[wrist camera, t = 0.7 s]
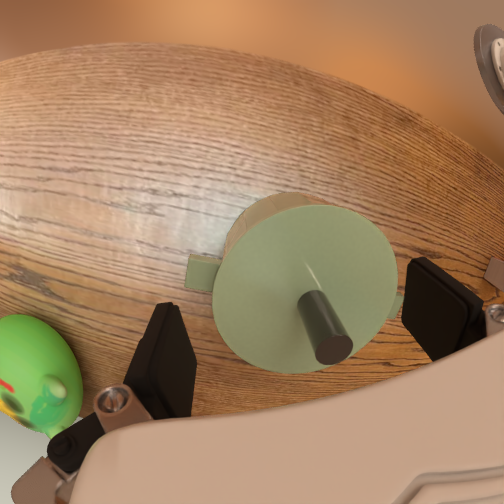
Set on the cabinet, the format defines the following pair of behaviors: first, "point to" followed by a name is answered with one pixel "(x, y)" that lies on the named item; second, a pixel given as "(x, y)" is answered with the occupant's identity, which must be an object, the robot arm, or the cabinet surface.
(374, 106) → the cabinet surface
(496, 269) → the tea bag
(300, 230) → the lid
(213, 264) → the pot
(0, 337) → the toy bird
